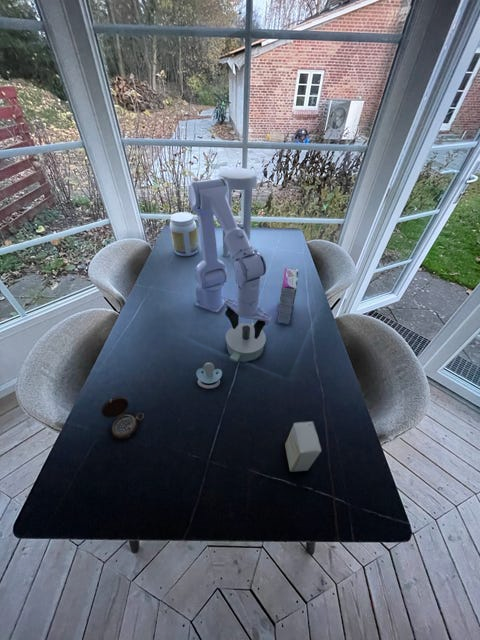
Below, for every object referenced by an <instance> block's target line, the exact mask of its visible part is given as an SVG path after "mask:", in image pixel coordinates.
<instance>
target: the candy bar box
mask: <svg viewBox="0 0 480 640" xmlns="http://www.w3.org/2000/svg"><path fill="white" fill-rule="evenodd" d="M298 278H299V269H296V268H289V267H285V268H284V271H283V275H282V282H281V286H280V295H279V302H278V308H277V318H276V323H279V324H286V325H290V324H291V320H292V315H293V310H294V305H295V299H296V296H297V295H296V294H297V289H298V280H299V279H298Z"/></svg>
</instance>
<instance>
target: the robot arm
mask: <svg viewBox="0 0 480 640" xmlns="http://www.w3.org/2000/svg"><path fill="white" fill-rule="evenodd" d="M187 194H188V200H189V201H188V202H189V207H190V211H192V212H195V213H196V217H197V226H198V234H199V240H200V248H201V254H202V255H201V256H202V260H201V261H200V262H199V263H198V264H197V265H196V267H195V279H196V282H197V283H196V286H195V298H196V304H195V306H197V307H200V308H203V309H206V310H209V311H211V312H214V313H219V312H220V310H221V309H222V308H223V307H224V308H226V310H225V312H224V315H225V316H226V317H227V319H228V320H229V322H230V325H231V327H233V329H235V328H236V327H237V326H238V324H240V323H239V317H240V318H243V319H246V320H247V319H249V320H255V321H256V322H255V324H254V329H255V335H254V338H255V339H257V338H258V337H259V335H260V333H261V330H263V328H264V327H265V326H269V325H270V324H271V323H272V318H273V316H272V315H270V314H268V313H267V312H265V310H263V309H261V308H260V307H259V296H260V287H261V277H263V276H265V275H266V272H267V265H266V261H265V258H264V256H263V254H261V253H260V252H258V250H257V249H255V248H253V246H252V244H251V240H250V241H249V239H248V237H247V235H246V233H245V231H244V230H243V228H240V227H239V226H237V224H236V223H237V222H236V219H235V216H234V213H233V210H232V211H231V208H230V205H229V187H228V184H227V182H226V181H225V179H224V178H222V177H221V178H219V179H218V178H212V179H206V180H205V179H204V180H198V181H197V180H196V181H191V182H189V184H188V187H187ZM214 217H215V218H214ZM215 219H216V220H217V223H218V225H220V227H221V229H222V232H223V231H224V232H225V234H226V236H225V238H224V242H225V244H226V246H227V248H228V250H229V255H230V257H231V259H232V262H233V263H234V264H233V265H232V266H233V267H232V268H233V273H234V276H235V283H236V285H237V292H236V293H237V294H236V295H237V297H236V299H237V300H235V299H230V298H226V299H225V298H223V297H224V295H223V294H224V293H223V287H224V286H225V283H227V282H228V272H227V268H226V264H225V263H224V262H223V261H222V260H220V259H219V257H218V248H217V238H216V237H217V236H216V228H215V227H216V226H215Z"/></svg>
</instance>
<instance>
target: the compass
mask: <svg viewBox="0 0 480 640" xmlns="http://www.w3.org/2000/svg"><path fill="white" fill-rule="evenodd" d="M128 408H129V401H128V399H127V398H126V397H125V396H114V397H111V398H110V399H108V400H107V401H105V402H104V403H103V404H102V406H101V411H100V412H101V415H102V416H103V417H104V418H107V419H113V418H115V419H114V420H113V422H112V423H111V427H110V433H111V435H112V436H113V437H114V438H116V439H118V440H123V439H126V438H130V436H132V435H133V434H134V433H135V431H137V428H138V421H141V420H142V419H143V418H144V417H145V416H144V413H143V412H139V413H137V414H136V416H135V415H134V414H132V413H125V412H126V411H127V410H128ZM141 414H142V418H139V415H141Z"/></svg>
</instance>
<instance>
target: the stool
mask: <svg viewBox="0 0 480 640" xmlns="http://www.w3.org/2000/svg"><path fill="white" fill-rule="evenodd" d="M221 177H222V178H224V179H225V181H226V182H227V184H228V187H229V205H230V208H231V211H232V212H233V210H232V209H233V205H232V204H233V203H232V201H233V199H232V198H233V197H232V195H233V191H234V190H235V191H243V218H242V219H243V220H242V222H236V224H237V226H238V227H242V229H243V230H244V231H245V233H246V235H247V237H248V239H249V241H250V242H251V227H252V226H251V225H252V206H253V189H254V188H255V187H257V184H258V172H256V171H255V170H253V169H249V168H242V167H232V168H231V167H230V168H225V169H221V170H220V171H219V172H218V174H217V179H219V178H221ZM232 190H233V191H232ZM225 236H226V234H225V232H224V231H223V230H222V256H223V257H229V255H230V253H229V250H228V248H227V246H226V244H225V242H224V238H225Z"/></svg>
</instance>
